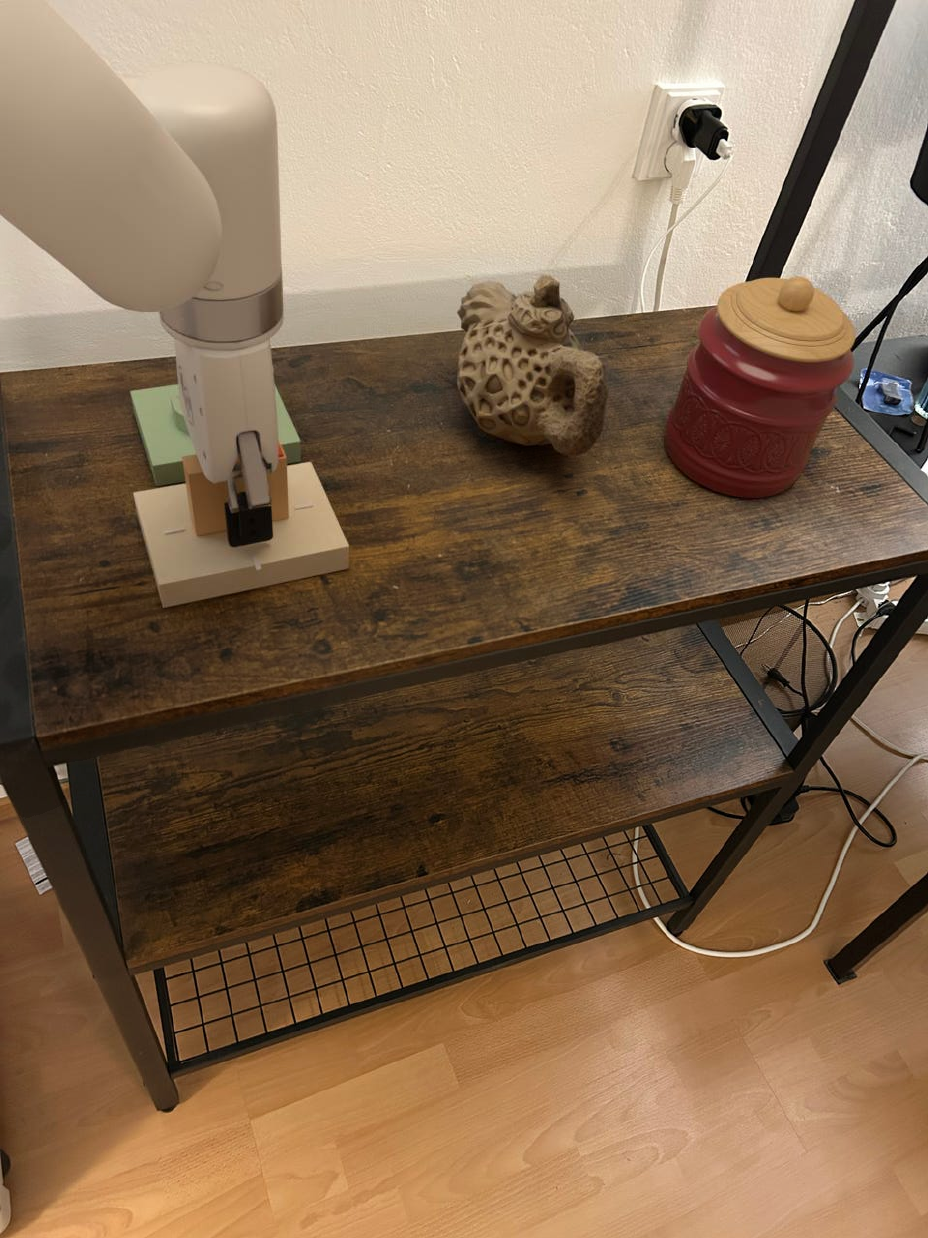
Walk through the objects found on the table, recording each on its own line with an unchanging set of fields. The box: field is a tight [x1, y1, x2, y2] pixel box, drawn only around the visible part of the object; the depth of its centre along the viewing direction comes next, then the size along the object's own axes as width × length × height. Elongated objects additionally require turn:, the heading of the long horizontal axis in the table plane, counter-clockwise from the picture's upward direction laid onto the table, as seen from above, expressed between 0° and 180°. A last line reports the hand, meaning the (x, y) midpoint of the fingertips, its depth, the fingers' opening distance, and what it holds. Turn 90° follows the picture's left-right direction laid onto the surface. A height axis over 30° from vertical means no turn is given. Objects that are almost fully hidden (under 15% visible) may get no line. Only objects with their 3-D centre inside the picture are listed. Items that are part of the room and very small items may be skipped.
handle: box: [182, 441, 289, 536], centre depth 71 cm, size 7×2×6 cm, turn 113°
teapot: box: [456, 274, 609, 456], centre depth 82 cm, size 21×12×15 cm, turn 27°
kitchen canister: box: [664, 275, 856, 499], centre depth 83 cm, size 13×13×18 cm
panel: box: [132, 461, 350, 609], centre depth 74 cm, size 14×11×3 cm
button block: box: [129, 382, 302, 487], centre depth 81 cm, size 12×10×4 cm
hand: (239, 509), depth 73 cm, fingers open, 5 cm apart
